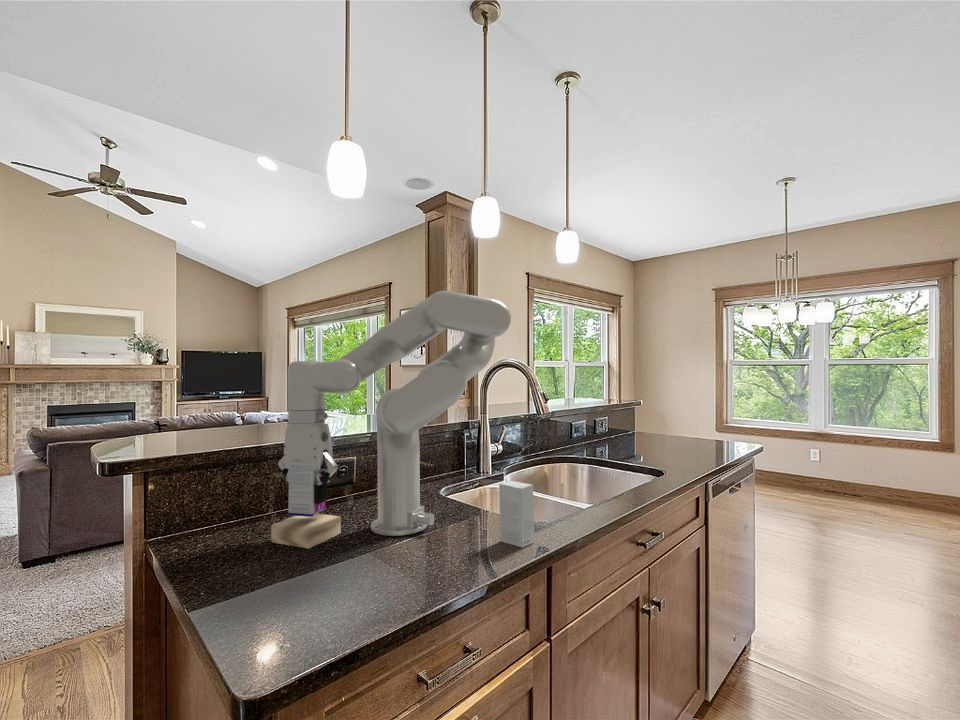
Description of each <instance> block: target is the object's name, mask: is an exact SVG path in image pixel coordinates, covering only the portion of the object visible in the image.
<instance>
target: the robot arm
mask: <svg viewBox="0 0 960 720" xmlns="http://www.w3.org/2000/svg"><path fill="white" fill-rule="evenodd" d="M511 323H512V315H511V312H510V310H509V308H508V306H507V305H506V304H504V303H503V302H501V301H499V300H498V299H495V298H488V297H483V296H478V295H473V294H466V293H461V292H456V291H452V290H438V291H437V292H436V291H435V292H434V293H433V294H431V295H429V296H428V297H427V298H425V299H423V300H422V301H421V302H420V303H417V304H416V305H414V306H413V307H411V308H409V310H407V311H405V312H404V313H402V314H401V315H399V316H397V317H396V318H394V319H393V320H392V321H389V323H386V324H385V325H384V326H382V327H381V328H379V329H378V330H377V331H376V332H375V333H374V334H373V335H372V336H370V337H369V338H368V339H367V340H366V341H364V342H363V343H361V344H360V345H358V346H357V347H356V348H355V347H354V349H352V350H351V351H350V352H348V353H346V354H345V355H343V356H341V357H340V358H338V359H336V360H331V361H317V360H298V361H297V360H296V361H292V362H290V363H289V364H288V367H287V415H288V417H287V419H288V420H287V422H288V424H286V428H285V433H284V442H283V445H284V446H283V456H282V457H281V459H279V460H278V462H277V465H278V466H279V468H280V470H281V471H282V474H283V475H284V476H285V482H287V485H288V487H287V488H288V489H287V490H288V493H287V494H288V495H287V497H288V501H289V462H290V461H299V462H309V463H310V464H311V465H312V468H313V471H314V472H315V481H316V483H317V485H314V503H315V504H319V503H322V502H325V503H326V502H327V500H328V489H327V487H328V483H330V480H331V478H332V477H333V476H334V474H335V473H336V472H337V470H338V469H339V466H338V464H337V463H336V462H335V460H334V456H333V454H334V453H333V446H332V445H333V442H332V435H331V431H330V426H329V425H328V423H326V420H327V419H328V417H329V415H328V413H327V412H326V409H325V408H326V406H325V405H326V403H325V402H326V398H325V396H326V395H325V394H326V393H328V394H329V393H330V394H336V395H337V394H338V395H347V394H350V393H352V392H354V391H356V389H357V388H358V387H359V385H360V383H362V382H364V381H365V380H366V379H369V377H372V375H374V374H376V373H377V372H378V371H380V370H382V369H383V368H385V367H387V366H389V365H391V364H393V363H396V362H399V361H401V360H403V359H404V358H406V357H408V356H409V355H411V354H412V353H414V351H416V350H417V349H419V348H420V347H422V346H423V345H425V344H426V343H428V342H429V341H431V340H432V339H434V338H435V337H437V336H438V335H439V334H441V333H442V332H444V331H445V330H453V331H456V332H457V331H458V332H463V336H462V338H461V340H460V342H459V343H457V344H456V345H454V347H452V348H451V349H449V350H448V351H447V352H445V353H444V354H442V355H441V356H439V357H438V358H437V359H435V360H434V361H432V362H430V363H429V364H426V365H425V366H424V367H423V368H422V369H420V371H419V372H418V375H417V376H416V377H415V378H414V379H411V381H409V382H408V383H406V384H405V385H403V386H402V387H399V388H398V387H397V388H391V389H389V390H387V391H385V392H384V393H383V394H381V396H380V397H379V399H378V401H377V404H376V408H375V423H376V440H377V443H376V444H377V447H376V448H377V518H376V519H374V520H373V521H372V522H371V523H370V529H371V531H372V532H373V533H375V534H377V535H379V536H390V537H394V536H395V537H398V536H400V537H401V536H407V535H412V534H416V533H420V532H421V531H424V530H425V529H426V528H427V526H433V524H434V522H435V514H434V513H429V512H425V506H424V505H421V487H420V486H421V484H420V483H421V481H420V480H421V479H420V478H421V475H420V474H421V473H420V472H421V469H420V467H421V466H420V461H421V460H420V458H421V454H420V452H421V450H420V445H421V444H420V433H419V432H420V431H419V430H420V429H422V428H423V427H425V426H426V425H428V424H429V423H430V422H432V421H433V420H435V418H437V417H439V416H440V415H441V414H443V413H444V412H445V411H447V410H448V409H449V408H450V407H452V406H453V405H454V404H456V403H457V402H458V401H459V400H460V399H461V397H462V396H463V394H464V392H465V389H466V385H467V382H469V381H471V379H472V378H473V377H475V376H476V375H477V374H479V373H480V372H481V371H482V370H483V369H484V368H486V366H488V364H489V362H490V361H491V359H492V356H493V353H494V349H495V345H496V344H495V343H496V338H497V337H500V336H502V335H503V334H505V333H506V332H507V331H508V329H509V328H510V326H511ZM320 468H321V469H320ZM320 472H321V475H322V477H321V476H320Z"/></svg>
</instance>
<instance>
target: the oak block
mask: <svg viewBox="0 0 960 720" xmlns="http://www.w3.org/2000/svg"><path fill="white" fill-rule="evenodd" d="M341 519H342V517H341V516H339V515H331V514H324V513H317V514H315V515H313V516H312V517H307V516H291V517H289V518H286V519H283V520H280V521H279V522H278V521H277V522H275V523H272V524H271V531H270V532H271V533H270V534H271V539H270V542H271V543H273V544H280V545H284V544H285V546H291V547H292V546H293V547H297V548H303V549H307V550H309V549H311V548H312V547H315V546H317V545H319V544H321V543H324V542H326V541H327V540H329V539H331V537H332V538H333V537H337V536H338V535H340V534H342V527H341V526H342V525H341V524H342V523H341V522H342V521H341ZM339 533H340V534H339ZM337 534H338V535H337Z"/></svg>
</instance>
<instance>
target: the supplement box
mask: <svg viewBox="0 0 960 720" xmlns="http://www.w3.org/2000/svg"><path fill="white" fill-rule="evenodd" d="M320 469H321V468H320ZM320 476H321V477H322V475H321V472H320ZM288 483H289V500H288V511H287V512H288V514H287V515H288V516H291V517H293V516H307V517H312V516H313V515H315V514H317V513H318V514H320V512H323V511H325V510H326V501H325V502H322V503H319V504H315V503H314V485H317V483H316V481H315V472H314V471H313V468H312V465H311V464H310V463H309V462H299V461H290V462H289V482H288Z"/></svg>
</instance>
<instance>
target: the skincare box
mask: <svg viewBox="0 0 960 720" xmlns="http://www.w3.org/2000/svg"><path fill="white" fill-rule="evenodd" d="M498 485H499V492H498V493H499V540H500V542H502V543H505V544H509V545H512V546H514V547H518V548H521V549H522V548H525V547H527V546H529V545H531V544H533V543H535V523H534V520H535V519H534V514H535V513H534V511H535V510H534V485H533V484H530V483H525V482H524V483H523V482H519V481H514V480H510V481H506V482H502V483H499V484H498Z"/></svg>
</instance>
